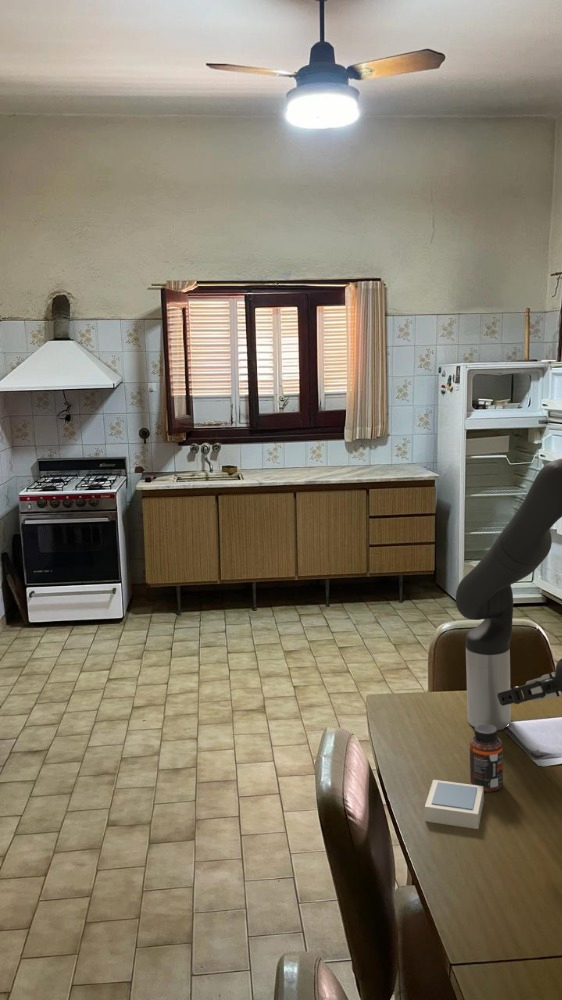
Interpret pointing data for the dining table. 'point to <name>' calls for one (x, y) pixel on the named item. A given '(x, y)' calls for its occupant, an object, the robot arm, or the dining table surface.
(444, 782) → the plinth
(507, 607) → the robot arm
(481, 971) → the dining table surface
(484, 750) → the supplement bottle
